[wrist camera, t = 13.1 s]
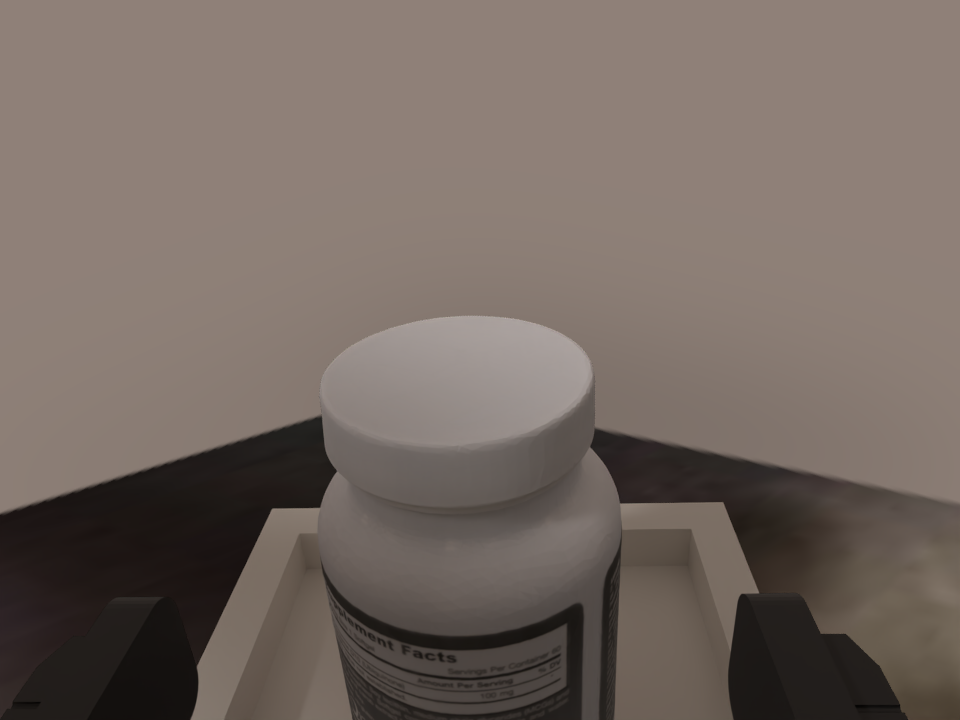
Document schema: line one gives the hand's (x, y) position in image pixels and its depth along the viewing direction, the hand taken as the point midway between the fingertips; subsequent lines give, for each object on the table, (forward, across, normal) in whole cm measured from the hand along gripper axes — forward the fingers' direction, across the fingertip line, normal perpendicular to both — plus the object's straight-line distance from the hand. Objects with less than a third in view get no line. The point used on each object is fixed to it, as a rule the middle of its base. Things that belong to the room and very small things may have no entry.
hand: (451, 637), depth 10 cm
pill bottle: (+4, 0, +8) cm, 8 cm away
